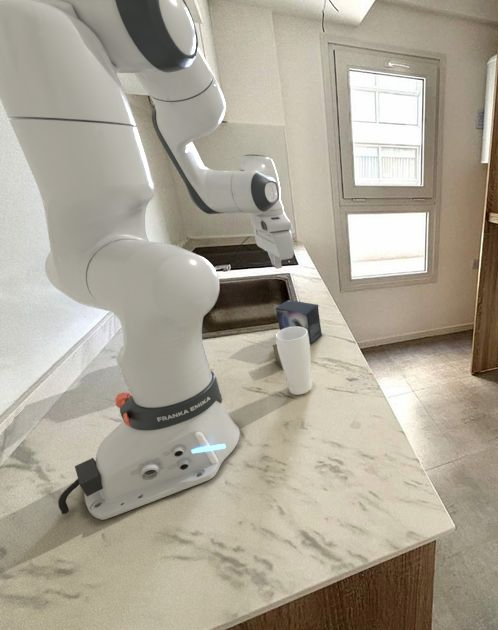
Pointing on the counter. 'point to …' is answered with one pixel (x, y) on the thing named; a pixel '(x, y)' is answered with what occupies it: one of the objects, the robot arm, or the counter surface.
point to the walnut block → (277, 355)
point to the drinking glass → (295, 358)
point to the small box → (300, 317)
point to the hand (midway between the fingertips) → (277, 267)
